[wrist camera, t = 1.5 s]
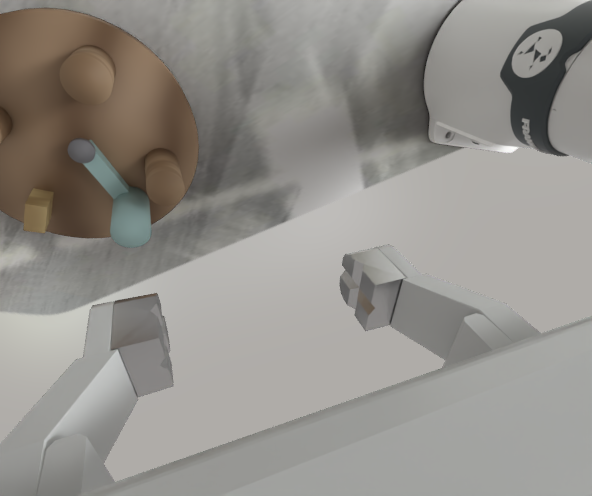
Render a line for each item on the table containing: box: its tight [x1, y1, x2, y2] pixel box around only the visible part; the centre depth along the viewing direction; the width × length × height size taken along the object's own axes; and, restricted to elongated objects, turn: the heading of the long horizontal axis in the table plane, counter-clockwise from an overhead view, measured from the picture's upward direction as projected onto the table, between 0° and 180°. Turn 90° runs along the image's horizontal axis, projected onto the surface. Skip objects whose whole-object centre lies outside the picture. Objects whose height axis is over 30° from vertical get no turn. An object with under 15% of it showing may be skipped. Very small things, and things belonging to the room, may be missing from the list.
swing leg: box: [68, 138, 151, 248], centre depth 28 cm, size 8×3×5 cm, turn 20°
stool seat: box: [0, 8, 199, 238], centre depth 27 cm, size 18×18×8 cm
